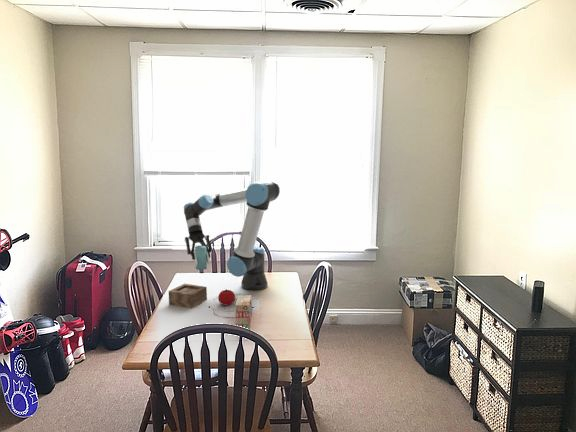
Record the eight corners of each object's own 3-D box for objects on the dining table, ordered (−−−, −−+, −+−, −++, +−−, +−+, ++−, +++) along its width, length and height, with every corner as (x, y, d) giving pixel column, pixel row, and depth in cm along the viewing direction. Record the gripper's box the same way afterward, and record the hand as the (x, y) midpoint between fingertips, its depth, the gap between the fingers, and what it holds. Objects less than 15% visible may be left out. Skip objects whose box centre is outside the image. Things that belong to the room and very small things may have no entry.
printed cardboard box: (239, 313, 250) (239, 289, 248) (252, 312, 250) (252, 289, 248) (235, 330, 229) (235, 304, 227) (249, 330, 229) (249, 304, 227)
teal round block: (209, 267, 276) (208, 246, 274) (202, 270, 271) (202, 248, 268) (200, 266, 279) (199, 245, 276) (193, 269, 273) (192, 247, 271)
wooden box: (206, 299, 268) (206, 286, 267) (191, 308, 256) (191, 294, 254) (185, 296, 274) (184, 283, 273) (169, 304, 261) (168, 291, 260)
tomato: (214, 304, 262) (214, 289, 260) (227, 299, 268) (227, 285, 267) (225, 308, 256) (225, 293, 254) (238, 303, 262) (238, 289, 261)
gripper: (210, 230, 289) (218, 265, 277) (176, 233, 281) (184, 269, 270) (212, 222, 283) (221, 258, 271) (178, 225, 275) (186, 262, 264)
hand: (202, 263), depth 271 cm, fingers closed on teal round block, 6 cm apart
